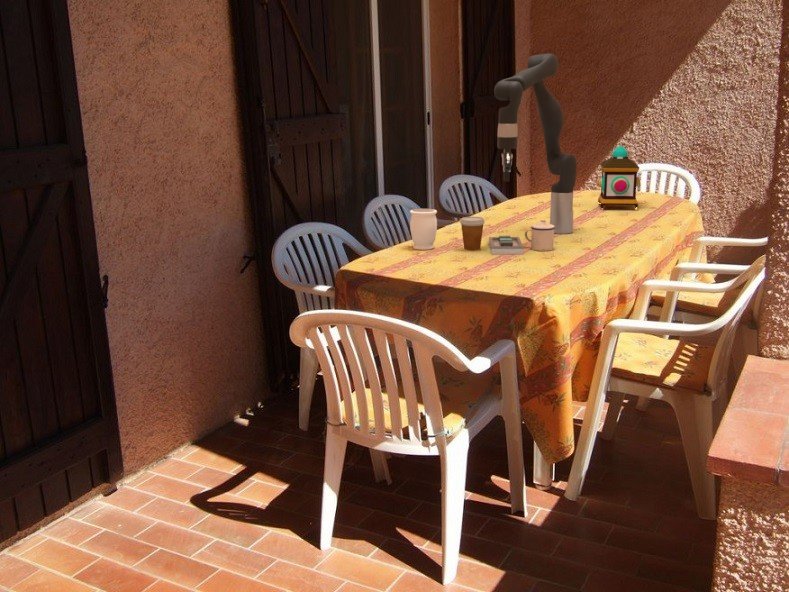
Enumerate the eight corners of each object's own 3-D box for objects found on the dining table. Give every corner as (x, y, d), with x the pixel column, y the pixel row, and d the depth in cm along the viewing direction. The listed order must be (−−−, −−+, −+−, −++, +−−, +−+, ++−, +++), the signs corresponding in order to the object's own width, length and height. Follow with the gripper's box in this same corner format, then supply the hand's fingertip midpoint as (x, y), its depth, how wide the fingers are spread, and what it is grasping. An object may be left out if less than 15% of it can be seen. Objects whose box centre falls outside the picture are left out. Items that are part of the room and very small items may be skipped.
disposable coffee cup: (484, 246, 349) (484, 216, 346) (484, 251, 340) (484, 220, 337) (460, 246, 350) (460, 216, 347) (459, 251, 341) (459, 220, 338)
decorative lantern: (595, 204, 443) (597, 144, 435) (635, 204, 440) (639, 144, 432) (598, 211, 424) (601, 148, 416) (640, 211, 421) (644, 148, 413)
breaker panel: (518, 244, 352) (519, 236, 351) (523, 254, 334) (523, 246, 333) (488, 244, 352) (488, 237, 351) (491, 254, 335) (491, 246, 334)
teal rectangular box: (511, 242, 344) (511, 238, 344) (511, 243, 341) (511, 239, 341) (499, 242, 344) (499, 238, 344) (500, 244, 341) (500, 239, 341)
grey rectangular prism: (510, 239, 349) (510, 235, 348) (510, 241, 346) (510, 237, 345) (498, 239, 349) (498, 235, 349) (499, 241, 346) (499, 237, 346)
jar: (418, 251, 341) (418, 213, 337) (405, 247, 350) (405, 209, 346) (441, 248, 346) (441, 211, 342) (428, 244, 354) (428, 207, 350)
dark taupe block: (512, 244, 339) (512, 240, 339) (512, 246, 336) (512, 242, 336) (500, 244, 339) (500, 240, 339) (501, 246, 336) (501, 242, 336)
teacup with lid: (557, 247, 344) (558, 218, 341) (549, 252, 337) (550, 222, 334) (528, 244, 350) (529, 216, 347) (519, 249, 343) (520, 219, 340)
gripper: (519, 136, 325) (517, 183, 330) (516, 134, 338) (515, 179, 343) (498, 137, 326) (497, 183, 330) (496, 134, 338) (495, 179, 343)
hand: (506, 181), depth 336 cm, fingers closed
